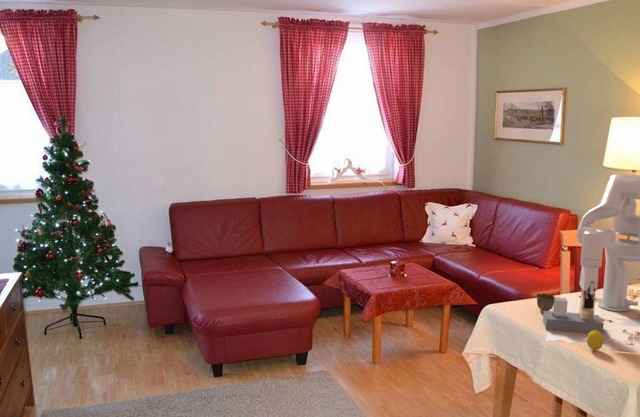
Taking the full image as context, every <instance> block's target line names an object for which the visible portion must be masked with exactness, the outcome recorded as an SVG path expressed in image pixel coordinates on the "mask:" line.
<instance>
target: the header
mask: <svg viewBox="0 0 640 417" xmlns="http://www.w3.org/2000/svg"><path fill="white" fill-rule="evenodd" d="M542 321H543V325H544V328H545V330H546V331H554V332H555V331H556V332H567V333H577V334H587V335H588V334H589V333H590V332H591V331H594V330H597V331H599V332H600V333H601V334H602V336H603V335H604V322H603V320H602V319H601V317H600V315H598V314H594V317H593V321H588V320H580V318H579V313H578V312H577V313H576V312H567V315H566V319H565V318H554V317H553V310H549V311H544V313H543V316H542Z"/></svg>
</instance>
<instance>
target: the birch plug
mask: <svg viewBox="0 0 640 417" xmlns="http://www.w3.org/2000/svg"><path fill="white" fill-rule="evenodd" d="M588 291H589V290H588ZM588 294H589V292H588ZM585 298H586V291H583V290H582V289H581V292H580V303H579V313H578V314H579V318H580V320H588V321H593V317H594V315H595V305H596V304H595V303H596V292H594V303H593V309H589V308H584V302H585Z"/></svg>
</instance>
